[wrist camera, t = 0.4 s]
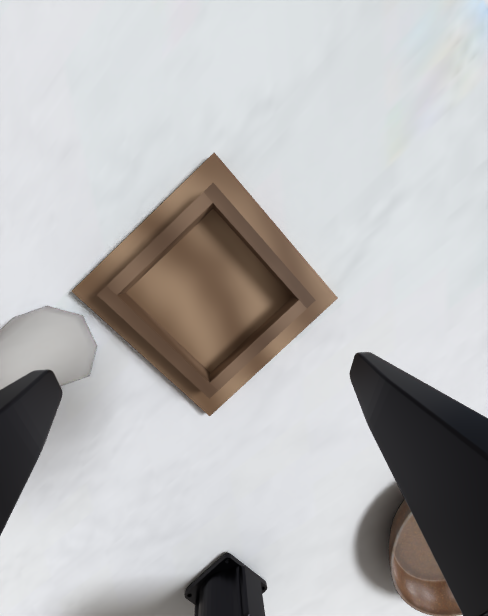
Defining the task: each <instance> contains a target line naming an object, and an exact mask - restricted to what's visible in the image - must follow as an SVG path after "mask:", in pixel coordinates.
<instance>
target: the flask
mask: <svg viewBox="0 0 488 616" xmlns="http://www.w3.org/2000/svg"><path fill="white" fill-rule="evenodd" d="M96 349H97V344H96V342H95V340H94V338H93V336H92V334H91V332H90V330H89V327H88V325H87V323H86V321H85V319H84V317H83V315H79V314H75V313H72V312H68V311H64V310H61V309H57V308H53V307H50V306H45V307H42V308H39V309H37V310H34V311H31V312H28V313H25V314H22V315H19V316H16V317H14V318H13V319H11V320H10V321H9V322H8V323H7V324H6V325H5V326H4V327H3V328H2V329H1V330H0V390H1V389H3V388H4V387H6V386H8V385H9V384H11V383H13V382H15V381H16V380H18V379H20V378H21V377H23V376H25V375H27V374H28V373H30V372H32V371H34V370H45V369H49V370H52V371H53V372H54V374H55V376H56V378H57V380H58V382H59V385H60V386H63V385H66V384H69V383H71V382H74V381H77V380H80V379H82V378H85V377H88V376H90V372H91V369H92V365H93V361H94V357H95V353H96Z"/></svg>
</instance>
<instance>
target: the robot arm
mask: <svg viewBox="0 0 488 616" xmlns="http://www.w3.org/2000/svg"><path fill="white" fill-rule="evenodd" d="M350 379H351V382H352V385H353V387H354V390H355V393H356V395H357V398H358V401H359V403H360V406H361V409H362V411H363V414H364V416H365V419H366V421H367V424H368V426H369V428H370V430H371V432H372V434H373V436H374V438H375V440H376V442H377V444H378V446H379V448H380V450H381V452H382V454H383V456H384V458H385V460H386V462H387V464H388V466H389V468H390V470H391V472H392V474H393V476H394V478H395V480H396V482H397V484H398V486H399V488H400V490H401V492H402V494H403V496H404V498H405V500H406V502H407V504H408V506H409V508H410V510H411V512H412V514H413V516H414V518H415V520H416V522H417V524H418V526H419V528H420V530H421V532H422V534H423V536H424V538H425V540H426V542H427V544H428V546H429V548H430V550H431V552H432V554H433V556H434V558H435V560H436V562H437V564H438V566H439V568H440V570H441V572H442V574H443V576H444V578H445V580H446V582H447V584H448V586H449V588H450V590H451V592H452V594H453V596H454V598H455V600H456V602H457V604H458V606H459V608H460V610H461V612H462V614H463V616H488V418H486V417H484V416H483V415H481V414H479V413H477V412H476V411H474V410H472V409H470V408H468V407H467V406H465V405H463V404H461V403H460V402H458V401H456V400H454V399H452V398H451V397H449V396H447V395H445V394H444V393H442V392H440V391H438V390H436V389H435V388H433V387H431V386H429V385H428V384H426V383H424V382H422V381H420V380H419V379H417V378H415V377H413V376H411V375H410V374H408V373H406V372H404V371H403V370H401V369H399V368H397V367H395V366H394V365H392V364H390V363H388V362H387V361H385V360H383V359H381V358H379V357H378V356H376V355H374V354H372V353H370V352H359V353H356V354H355V356H354V360H353V363H352V366H351V370H350ZM61 398H62V389H61V387H60V385H59V382H58V380H57V378H56V376H55V374H54V372H53V371H52V370H49V369H45V370H34V371H32V372H30V373H28V374H27V375H25V376H23V377H21V378H20V379H18V380H16V381H15V382H13V383H11V384H9V385H8V386H6V387H4V388H3V389H1V390H0V535H1V533H2V531H3V529H4V527H5V525H6V523H7V521H8V519H9V517H10V515H11V513H12V511H13V509H14V507H15V505H16V503H17V501H18V499H19V497H20V495H21V492H22V490H23V488H24V486H25V484H26V482H27V480H28V478H29V476H30V474H31V472H32V470H33V468H34V466H35V464H36V462H37V460H38V458H39V455H40V453H41V451H42V449H43V446H44V444H45V441H46V439H47V436H48V433H49V431H50V428H51V425H52V423H53V420H54V417H55V415H56V412H57V409H58V406H59V404H60V401H61ZM266 590H267V584H266V581H265V580H263V579H262V578H261V577H260V576H258V575H257V574H256V573H254V572H253V571H252V570H251V569H249V568H248V567H247V566H245V565H244V564H243V563H242V562H240V561H239V560H238V559H236V558H235V557H234V556H233V555H231V554H230V553H227V554H225V555H223V556H222V557H221V558H220V559H219V560H218V561H217V562H215V563H214V564H213V565H212V566H211V567H210V568H209V569H208V570H207V571H205V572H204V573H203V574H202V575H201V576H200V577H199V578H198V579H196V580H195V581H194V582H193V583H192V584H191V585H190V586H189V587H187V588H186V590H185V598H186V599H188V600H189V601H191V602H192V603H193V604H195V616H265V611H264V604H263V596H262V594H263V593H264V592H265V591H266Z"/></svg>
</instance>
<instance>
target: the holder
mask: <svg viewBox="0 0 488 616" xmlns="http://www.w3.org/2000/svg"><path fill="white" fill-rule="evenodd" d="M72 292H73V293H74V294H75V295H76V296H77V297H78V298H79V299H81V300H82V301H83V302H84V303H85V304H86V305H87V306H88V307H89V308H91V309H92V310H93V311H94V312H95V313H96V314H97V315H98V316H99V317H100V318H102V319H103V320H104V321H105V322H106V323H107V324H108V325H109V326H110V327H112V328H113V329H114V330H115V331H116V332H117V333H118V334H119V335H120V336H121V337H123V338H124V339H125V340H126V341H127V342H128V343H129V344H130V345H131V346H132V347H134V348H135V349H136V350H137V351H138V352H139V353H140V354H141V355H142V356H144V357H145V358H146V359H147V360H148V361H149V362H150V363H151V364H152V365H153V366H155V367H156V368H157V369H158V370H159V371H160V372H161V373H162V374H163V375H165V376H166V377H167V378H168V379H169V380H170V381H171V382H172V383H173V384H174V385H176V386H177V387H178V388H179V389H180V390H181V391H182V392H183V393H184V394H186V395H187V396H188V397H189V398H190V399H191V400H192V401H193V402H194V403H195V404H197V405H198V406H199V407H200V408H201V409H202V410H203V411H204V412H205V413H207V414H208V415H209V416H211V415H212V414H213V413H214V412H215V411H216V410H217V409H218V408H219V407H220V406H221V405H223V404H224V403H225V402H226V401H227V400H228V399H229V398H230V397H231V396H232V395H233V394H234V393H236V392H237V391H238V390H239V389H240V388H241V387H242V386H243V385H244V384H245V383H246V382H247V381H249V380H250V379H251V378H252V377H253V376H254V375H255V374H256V373H257V372H258V371H259V370H260V369H262V368H263V367H264V366H265V365H266V364H267V363H268V362H269V361H270V360H271V359H272V358H273V357H275V356H276V355H277V354H278V353H279V352H280V351H281V350H282V349H283V348H284V347H285V346H286V345H288V344H289V343H290V342H291V341H292V340H293V339H294V338H295V337H296V336H297V335H298V334H299V333H301V332H302V331H303V330H304V329H305V328H306V327H307V326H308V325H309V324H310V323H311V322H312V321H314V320H315V319H316V318H317V317H318V316H319V315H320V314H321V313H322V312H323V311H324V310H325V309H327V308H328V307H329V306H330V305H331V304H332V303H333V302H334V301H335V300H336V299H337V297H336V295H335V294H334V293H333V292H332V291H331V290H330V288H329V287H328V286H327V285H326V284H325V282H324V281H323V280H322V279H321V278H320V277H319V275H318V274H317V273H316V272H315V271H314V269H313V268H312V267H311V266H310V265H309V264H308V262H307V261H306V260H305V259H304V258H303V257H302V255H301V254H300V253H299V252H298V251H297V249H296V248H295V247H294V246H293V245H292V244H291V242H290V241H289V240H288V239H287V238H286V236H285V235H284V234H283V233H282V232H281V231H280V229H279V228H278V227H277V226H276V225H275V223H274V222H273V221H272V220H271V219H270V218H269V216H268V215H267V214H266V213H265V212H264V210H263V209H262V208H261V207H260V206H259V205H258V203H257V202H256V201H255V200H254V199H253V197H252V196H251V195H250V194H249V193H248V192H247V190H246V189H245V188H244V187H243V186H242V184H241V183H240V182H239V181H238V180H237V179H236V177H235V176H234V175H233V174H232V173H231V172H230V170H229V169H228V168H227V167H226V166H225V164H224V163H223V162H222V161H221V160H220V159H219V157H218V156H217V155H216V154H215V153H213V154H212V155H211V156H210V157H209V158H208V159H207V160H206V161H205V162H204V163H203V164H202V165H201V166H200V167H199V168H198V169H197V170H196V171H195V172H194V173H193V174H192V175H191V176H190V177H189V178H188V179H186V180H185V181H184V182H183V183H182V184H181V185H180V186H179V187H178V188H177V189H176V190H175V191H174V192H173V193H172V194H171V195H170V196H169V197H168V198H167V199H166V200H165V201H164V202H163V203H162V204H161V205H160V206H159V207H158V208H157V209H156V210H155V211H154V212H153V213H152V214H150V215H149V216H148V217H147V218H146V219H145V220H144V221H143V222H142V223H141V224H140V225H139V226H138V227H137V228H136V229H135V230H134V231H133V232H132V233H131V234H130V235H129V236H128V237H127V238H126V239H125V240H124V241H123V242H122V243H121V244H120V245H119V246H118V247H117V248H116V249H114V250H113V251H112V252H111V253H110V254H109V255H108V256H107V257H106V258H105V259H104V260H103V261H102V262H101V263H100V264H99V265H98V266H97V267H96V268H95V269H94V270H93V271H92V272H91V273H90V274H89V275H88V276H87V277H86V278H85V279H84V280H83V281H82V282H81V283H80V284H78V285H77V286H76V287H75V288H74V289H73V290H72Z"/></svg>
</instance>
